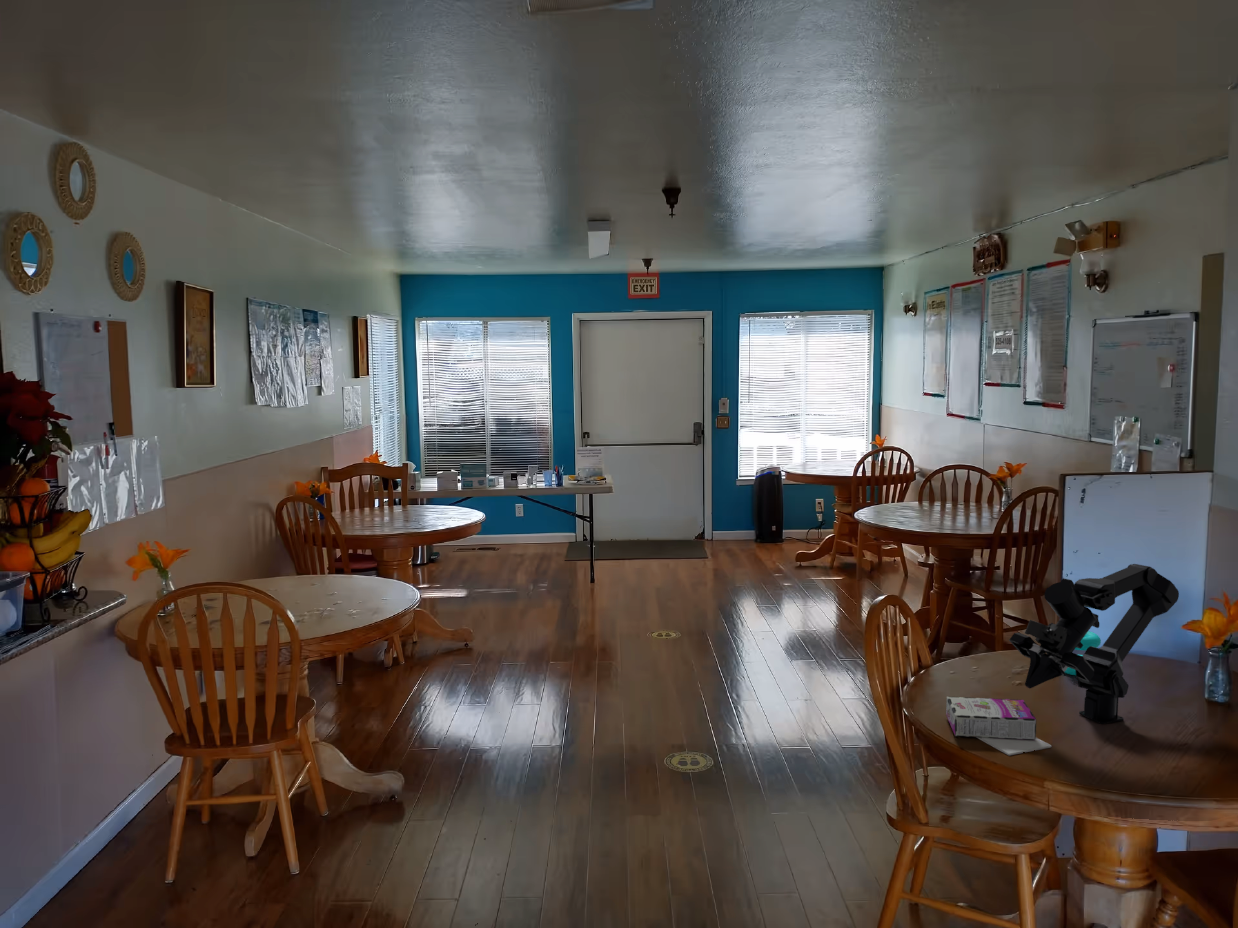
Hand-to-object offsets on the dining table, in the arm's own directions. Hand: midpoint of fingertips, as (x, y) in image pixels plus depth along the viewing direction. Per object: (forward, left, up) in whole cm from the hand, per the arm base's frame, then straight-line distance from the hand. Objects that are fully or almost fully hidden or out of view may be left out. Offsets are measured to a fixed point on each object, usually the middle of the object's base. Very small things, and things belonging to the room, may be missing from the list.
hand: (1027, 686), depth 191 cm
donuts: (-42, -27, -11) cm, 51 cm away
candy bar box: (-3, -1, -8) cm, 9 cm away
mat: (+4, 0, -11) cm, 12 cm away
